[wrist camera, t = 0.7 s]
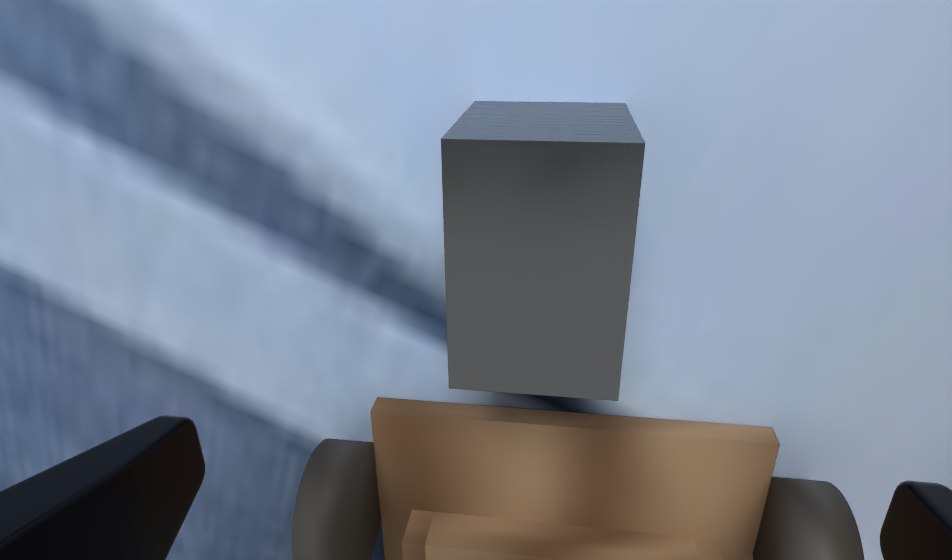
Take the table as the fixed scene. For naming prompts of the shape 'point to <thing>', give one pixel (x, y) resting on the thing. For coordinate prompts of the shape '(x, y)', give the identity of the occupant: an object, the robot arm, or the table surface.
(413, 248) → the table surface
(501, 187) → the block
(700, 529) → the chassis
